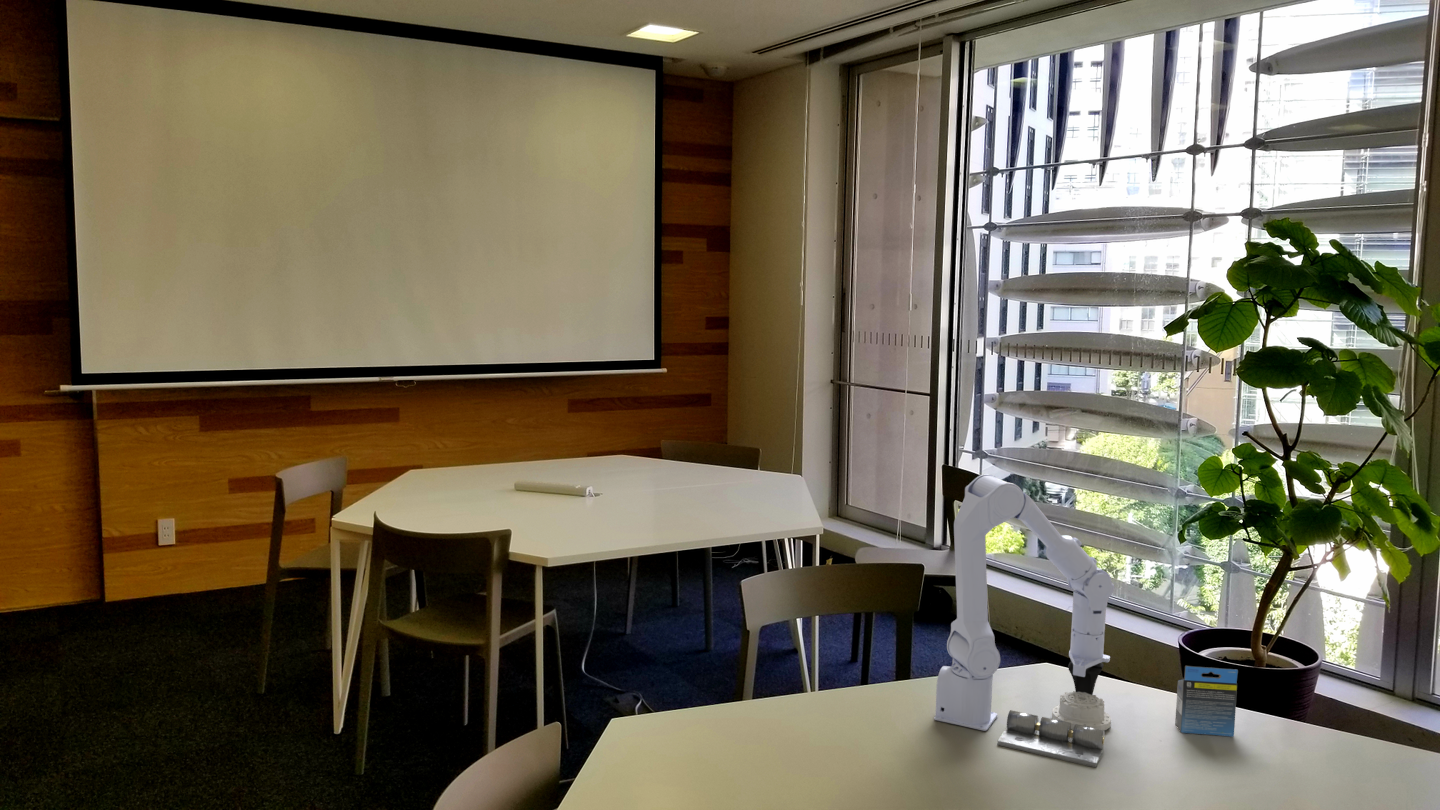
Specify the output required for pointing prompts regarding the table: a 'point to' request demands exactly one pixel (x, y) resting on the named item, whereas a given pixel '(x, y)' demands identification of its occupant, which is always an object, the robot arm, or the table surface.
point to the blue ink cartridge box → (1207, 701)
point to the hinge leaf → (1053, 738)
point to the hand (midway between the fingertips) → (1083, 701)
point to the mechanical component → (1082, 710)
